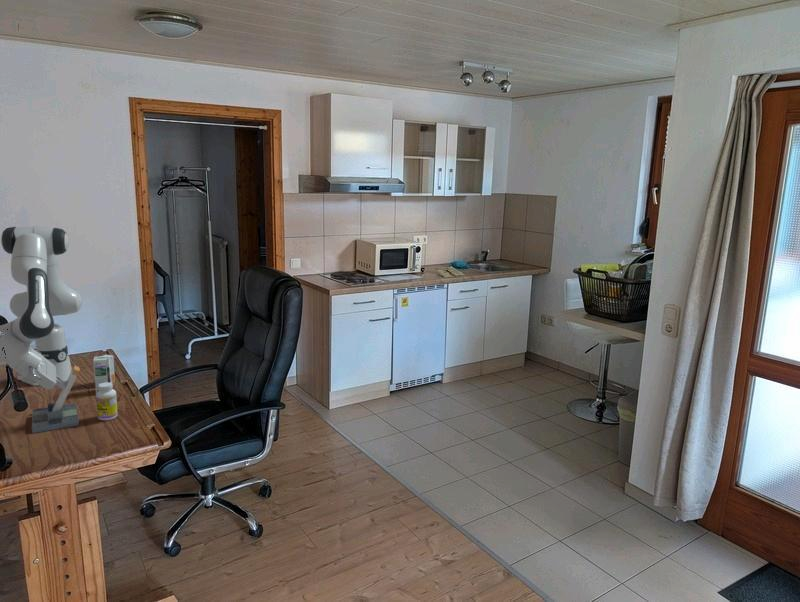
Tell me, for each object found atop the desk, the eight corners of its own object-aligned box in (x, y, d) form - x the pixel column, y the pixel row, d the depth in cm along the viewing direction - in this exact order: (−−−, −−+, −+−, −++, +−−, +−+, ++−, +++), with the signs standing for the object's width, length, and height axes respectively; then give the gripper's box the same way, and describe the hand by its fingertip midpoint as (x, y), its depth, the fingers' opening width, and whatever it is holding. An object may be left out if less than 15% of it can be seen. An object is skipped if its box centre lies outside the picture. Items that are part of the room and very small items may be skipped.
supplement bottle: (93, 419, 209) (90, 385, 207) (108, 412, 215) (106, 380, 213) (107, 422, 207) (104, 388, 204) (122, 415, 213) (119, 383, 210)
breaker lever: (51, 417, 203) (74, 370, 204) (51, 410, 209) (73, 364, 210) (56, 418, 204) (80, 371, 205) (56, 411, 210) (79, 366, 210)
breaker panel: (32, 433, 197) (30, 419, 196) (33, 416, 210) (31, 403, 209) (79, 425, 204) (77, 411, 203) (76, 409, 217) (75, 396, 216)
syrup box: (95, 394, 232) (92, 360, 229) (96, 389, 238) (94, 356, 235) (111, 392, 235) (108, 358, 232) (112, 387, 240) (109, 354, 237)
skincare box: (106, 386, 241) (103, 359, 239) (97, 385, 242) (94, 358, 240) (115, 381, 247) (113, 355, 245) (107, 380, 248) (105, 354, 245)
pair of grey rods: (33, 415, 211) (32, 410, 211) (33, 411, 214) (32, 407, 213) (76, 408, 218) (76, 404, 218) (76, 405, 221) (75, 401, 221)
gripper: (36, 364, 191) (72, 388, 198) (37, 348, 208) (70, 371, 215) (21, 379, 190) (58, 402, 197) (23, 362, 207) (57, 384, 214)
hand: (64, 386), depth 206 cm, fingers closed, pressing on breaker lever
